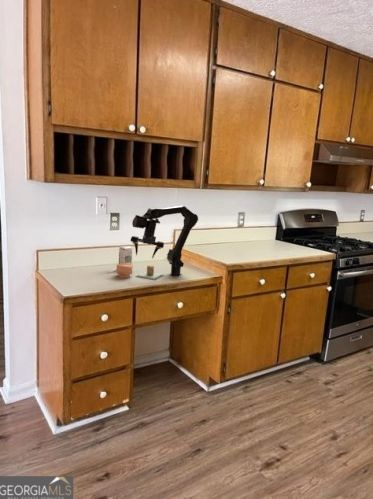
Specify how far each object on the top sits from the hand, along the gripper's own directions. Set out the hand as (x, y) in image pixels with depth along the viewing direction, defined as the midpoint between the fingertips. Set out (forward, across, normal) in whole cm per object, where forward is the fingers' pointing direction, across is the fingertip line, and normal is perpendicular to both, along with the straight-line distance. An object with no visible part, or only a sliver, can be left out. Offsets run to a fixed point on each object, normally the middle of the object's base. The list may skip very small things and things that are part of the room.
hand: (144, 256), depth 214 cm
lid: (+11, +5, +4) cm, 13 cm away
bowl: (+14, -9, +1) cm, 17 cm away
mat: (+12, +5, +4) cm, 14 cm away
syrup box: (+13, -11, +17) cm, 24 cm away
